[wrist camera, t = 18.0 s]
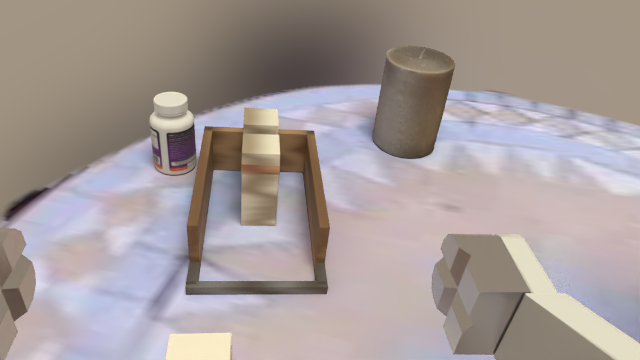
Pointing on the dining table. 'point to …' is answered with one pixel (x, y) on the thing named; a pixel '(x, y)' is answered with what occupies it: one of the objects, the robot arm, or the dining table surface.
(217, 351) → the banded cream pillar
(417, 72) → the pillar candle
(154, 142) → the pill bottle
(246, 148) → the dispenser
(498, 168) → the dining table surface
